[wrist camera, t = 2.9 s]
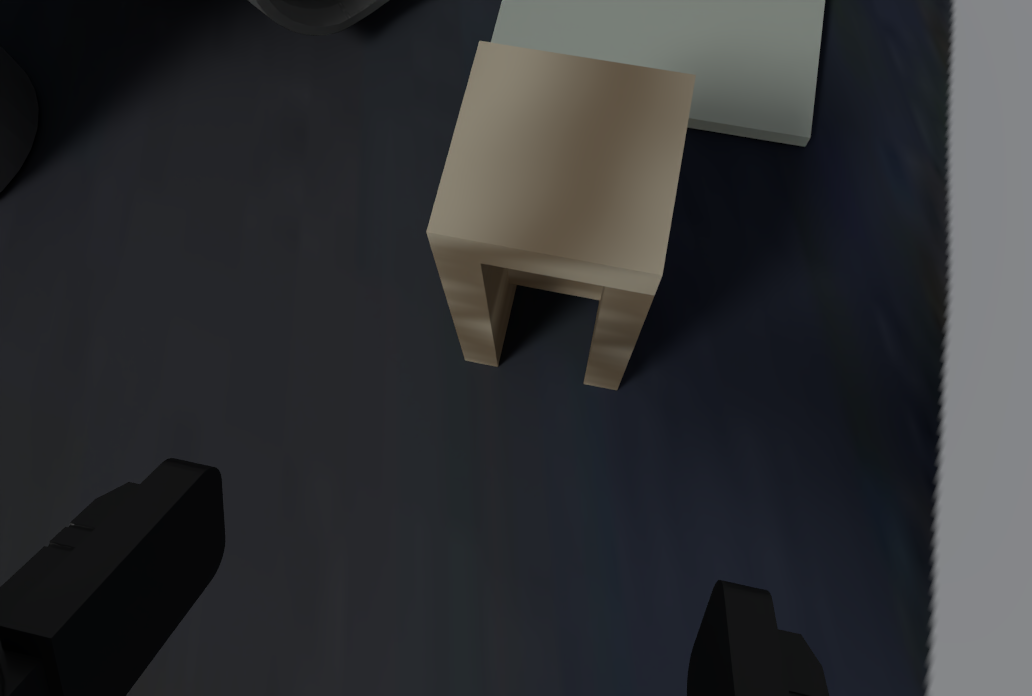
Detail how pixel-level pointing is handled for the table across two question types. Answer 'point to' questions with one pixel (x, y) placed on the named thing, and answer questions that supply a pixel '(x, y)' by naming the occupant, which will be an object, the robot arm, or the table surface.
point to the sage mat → (694, 52)
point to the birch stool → (559, 194)
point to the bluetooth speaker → (317, 14)
